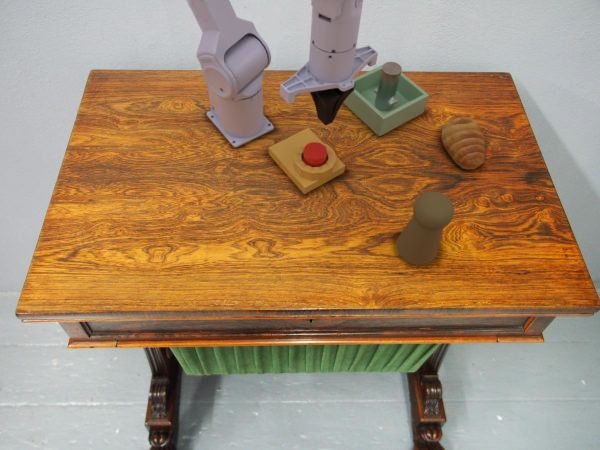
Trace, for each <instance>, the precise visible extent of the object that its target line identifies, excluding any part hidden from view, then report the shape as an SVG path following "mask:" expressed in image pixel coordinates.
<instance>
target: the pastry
mask: <svg viewBox="0 0 600 450" xmlns="http://www.w3.org/2000/svg"><path fill="white" fill-rule="evenodd" d="M440 136H441V137H440V138H441V142H442V146H443V147H444V149H445V150H446V152H447V154H448V155H449V156H450V158H451V159H452V161H453V162H454V163H455V165H457V166H459V167H460V168H461V169H463V170H476V169H477V168H478V167H480V166H481V165H482V164H484V162H485V155H486V154H487V153H486V137H485V136H484V133H483V129H482V127H481V126H480V125H479V124H477V123H476V122H475V120H474V119H473V118H472V117H470V116H458V117H456V118H453V119H451V120H449V121H448V122H446V123H445V124H444V125H443V126H442V128H441V135H440Z"/></svg>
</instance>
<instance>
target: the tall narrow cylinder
mask: <svg viewBox="0 0 600 450" xmlns="http://www.w3.org/2000/svg"><path fill="white" fill-rule="evenodd" d="M382 65H383V66H382V71H381V75H380V80H379V85H378V88H376V89H374V93H376V99H375V107H376V108H377V109H379V110H381V111H388V110H390V109H391V108H392V107H393V105H394V104H396V103H397V101H398V100H397V99H395V95H396V91H397V87H398V83H399V79H400V75H401V72H402V70H403V68H402V66H401V65H400V64H399V62H398V63H397V62H395V61H386V62H385V63H383V64H382Z"/></svg>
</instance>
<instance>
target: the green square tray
mask: <svg viewBox="0 0 600 450" xmlns="http://www.w3.org/2000/svg"><path fill="white" fill-rule="evenodd" d="M382 66H383V64H381V65H379V66H378V67H375V68H373V69H371V70H368V71H367V72H364V73H363V74H361V75H358V76H357V77H356V76H355V77H354V78H353V80H354V82H355V88H354V91H353V92H352V93H351V94H350V95H349V96H348V97H347V98H346V99H345V101H344V102H343V103H342V104H344V105H345V106H346V107H347V108H348V109H349V110H350V111H351V112H352V113H353V114H355V116H356V117H358V119H360V120H361V121H362V122H363V123H364V124H365V125H366V126H367V127H368V128H370V130H371V131H372V132H374V133H375V134H376V135H377V136H378V137H381V136H383V135H385V134H387V133H389V132H390V131H392V130H394V129H396V128H398V127H400V126H402V125H403V124H406V123H407V122H409V121H411V120H412V119H415V118H416V117H418V116H420V115H422V114H424V112H425V109H426V106H427V103H428V101H429V97H430V94H428V92H426V91H425V90H423V89H422V87H420V86H419V85H418V84H416V83H415V82H414V81H413V80H411V79H410V78H409V77H408V76H407V75H405V73H403V72H402V71H401V75H400V79H399V83H398V87H397V91H396V95H395V99H397V100H398V101H397V103H396V104H394V105H393V107H392V108H391V109H390V110H388V111H381V110H379V109H377V108H376V107H375V99H376V93H374V89H376V88H378V85H379V80H380V75H381V71H382Z"/></svg>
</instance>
